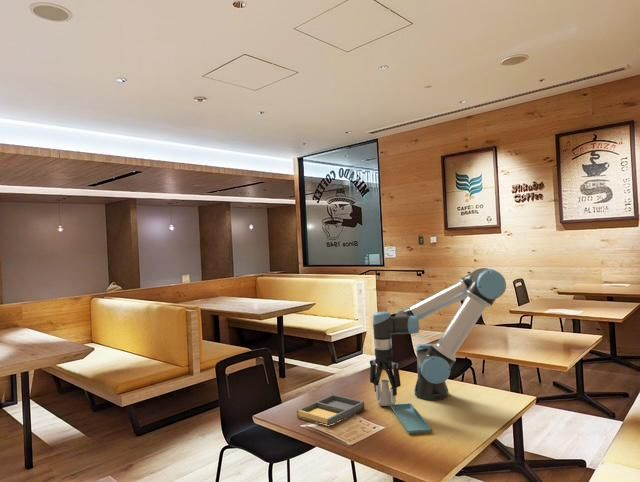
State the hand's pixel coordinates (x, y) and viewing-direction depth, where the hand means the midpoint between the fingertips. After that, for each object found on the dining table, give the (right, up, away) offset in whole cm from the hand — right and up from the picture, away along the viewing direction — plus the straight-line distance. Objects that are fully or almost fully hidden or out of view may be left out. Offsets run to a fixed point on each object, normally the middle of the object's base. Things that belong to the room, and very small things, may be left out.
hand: (386, 401), depth 197 cm
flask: (0, -1, 0) cm, 1 cm away
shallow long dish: (+7, -2, -18) cm, 19 cm away
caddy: (-24, -3, -7) cm, 25 cm away
